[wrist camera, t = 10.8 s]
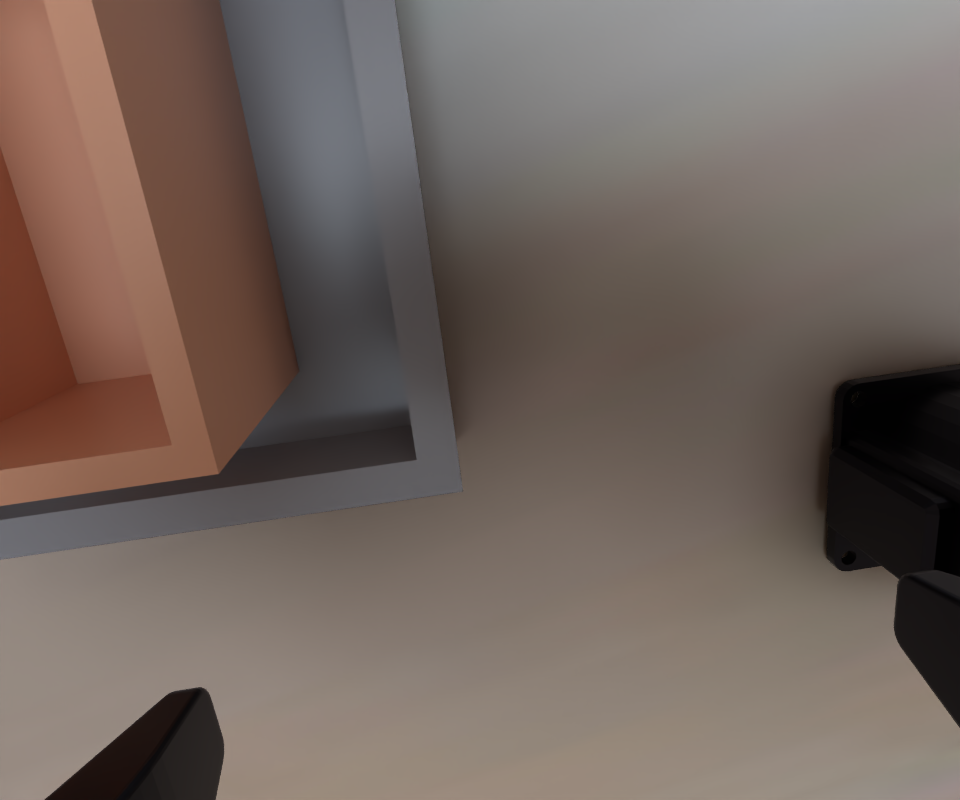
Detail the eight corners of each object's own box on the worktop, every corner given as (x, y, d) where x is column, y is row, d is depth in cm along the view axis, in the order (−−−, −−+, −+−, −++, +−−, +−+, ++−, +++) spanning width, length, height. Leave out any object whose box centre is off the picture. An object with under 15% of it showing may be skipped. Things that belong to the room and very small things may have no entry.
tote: (206, -58, 14) (8, -308, 7) (299, 371, 17) (218, 473, 10) (-69, -29, 14) (-540, -261, 7) (73, 402, 17) (-161, 529, 10)
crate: (363, -218, 14) (345, -353, 11) (455, 441, 19) (463, 491, 15) (-290, -160, 13) (-528, -285, 10) (-24, 510, 18) (-125, 578, 15)
